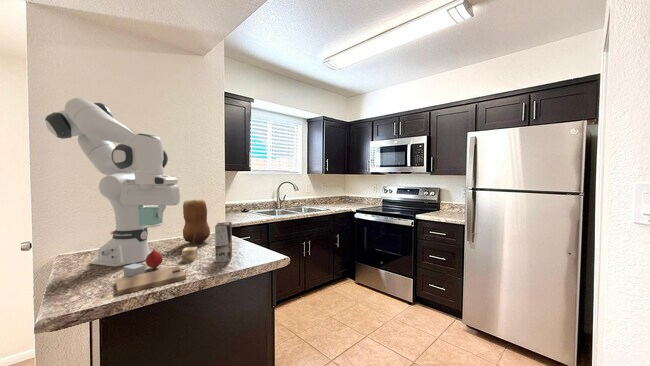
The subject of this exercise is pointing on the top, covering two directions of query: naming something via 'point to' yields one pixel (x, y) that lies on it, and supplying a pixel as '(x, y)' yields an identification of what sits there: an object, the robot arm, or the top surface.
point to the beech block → (189, 254)
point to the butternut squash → (195, 221)
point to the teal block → (149, 216)
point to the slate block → (133, 270)
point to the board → (149, 280)
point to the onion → (154, 259)
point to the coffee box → (223, 242)
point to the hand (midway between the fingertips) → (150, 217)
